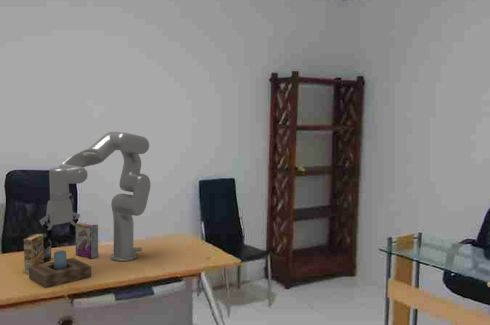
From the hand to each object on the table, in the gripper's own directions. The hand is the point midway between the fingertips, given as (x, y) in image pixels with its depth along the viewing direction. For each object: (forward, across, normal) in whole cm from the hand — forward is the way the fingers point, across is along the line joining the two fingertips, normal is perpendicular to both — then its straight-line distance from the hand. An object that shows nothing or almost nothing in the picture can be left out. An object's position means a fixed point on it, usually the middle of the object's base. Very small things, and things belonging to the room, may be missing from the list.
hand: (60, 236), depth 209 cm
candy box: (+18, +5, -17) cm, 25 cm away
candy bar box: (+19, -23, -22) cm, 37 cm away
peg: (+17, +1, 0) cm, 17 cm away
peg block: (+18, +1, 0) cm, 18 cm away
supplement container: (+18, -3, -30) cm, 35 cm away
